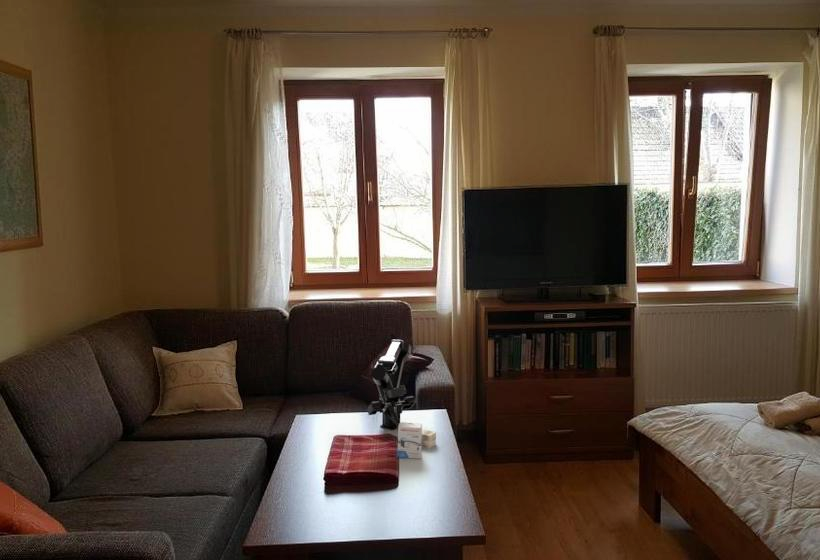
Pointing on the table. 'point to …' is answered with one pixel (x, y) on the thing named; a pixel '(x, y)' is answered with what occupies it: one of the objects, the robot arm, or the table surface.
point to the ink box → (409, 440)
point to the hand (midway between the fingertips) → (398, 425)
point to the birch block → (428, 438)
